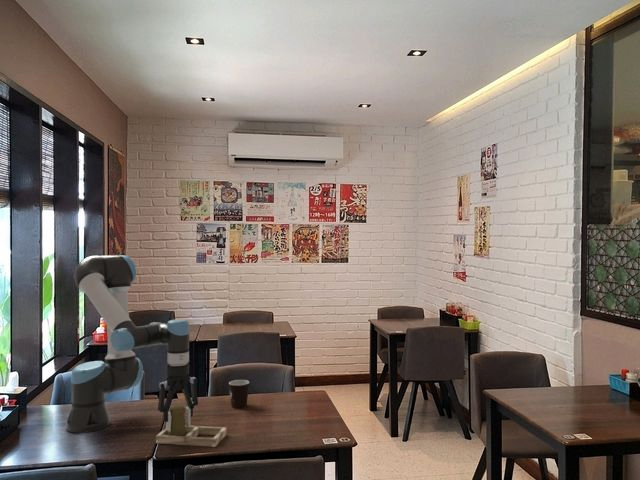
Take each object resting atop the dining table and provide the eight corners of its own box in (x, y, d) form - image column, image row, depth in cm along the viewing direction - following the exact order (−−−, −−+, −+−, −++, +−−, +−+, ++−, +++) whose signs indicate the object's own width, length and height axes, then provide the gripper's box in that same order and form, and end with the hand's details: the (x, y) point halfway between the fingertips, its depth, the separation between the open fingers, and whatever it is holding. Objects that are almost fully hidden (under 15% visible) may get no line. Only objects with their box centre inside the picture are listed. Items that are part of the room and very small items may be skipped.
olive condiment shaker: (177, 441, 180) (176, 410, 180) (165, 438, 183) (164, 407, 183) (190, 435, 185) (189, 405, 185) (178, 432, 188) (177, 402, 188)
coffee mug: (247, 409, 215) (247, 385, 215) (227, 409, 215) (226, 385, 215) (251, 400, 227) (251, 378, 227) (232, 400, 227) (232, 378, 227)
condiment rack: (215, 446, 176) (215, 439, 176) (155, 443, 180) (155, 435, 180) (226, 434, 187) (226, 427, 187) (170, 431, 191) (170, 424, 191)
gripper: (154, 369, 176) (154, 437, 176) (208, 361, 187) (208, 425, 187) (147, 365, 182) (147, 431, 182) (199, 358, 193) (200, 419, 193)
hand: (178, 428), depth 184 cm, fingers open, 6 cm apart
